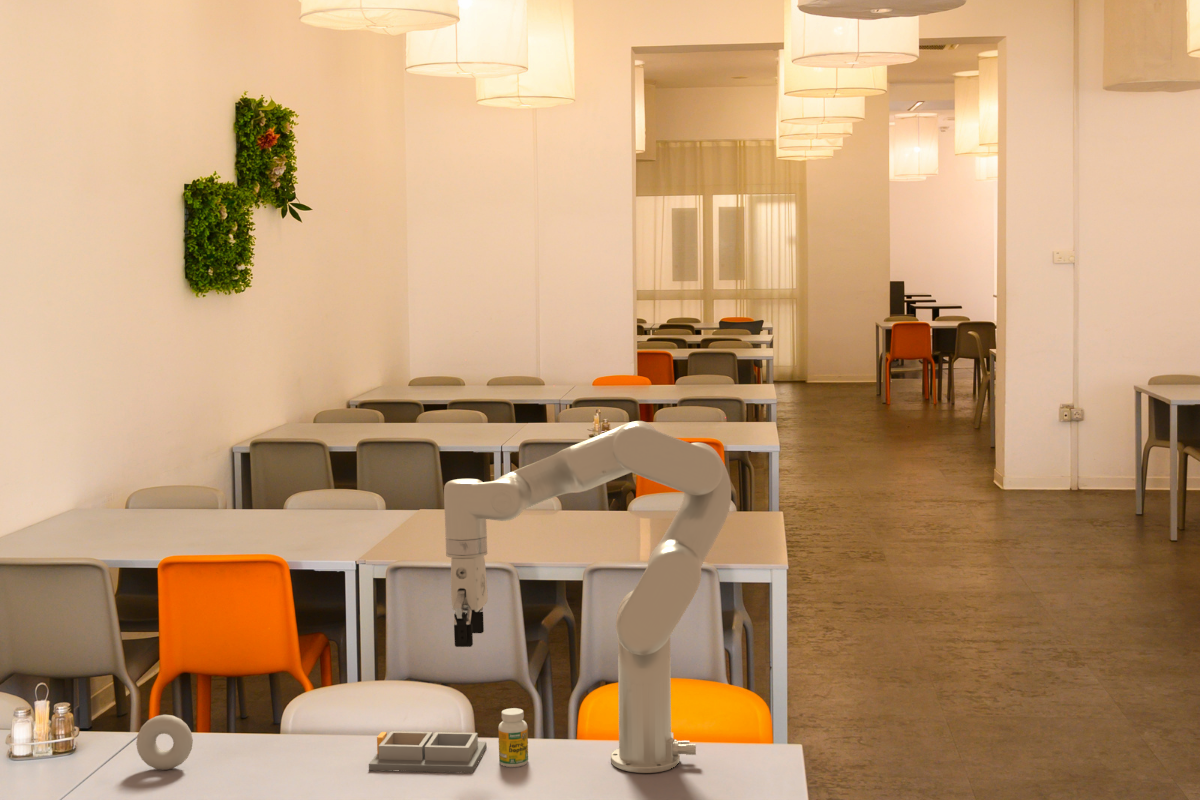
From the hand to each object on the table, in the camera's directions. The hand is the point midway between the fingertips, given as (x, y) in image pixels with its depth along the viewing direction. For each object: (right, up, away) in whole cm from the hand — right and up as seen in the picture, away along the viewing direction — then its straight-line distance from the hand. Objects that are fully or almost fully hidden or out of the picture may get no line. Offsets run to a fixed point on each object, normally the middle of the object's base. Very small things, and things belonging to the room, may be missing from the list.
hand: (469, 639), depth 216 cm
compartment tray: (-8, -23, +2) cm, 24 cm away
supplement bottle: (+8, -23, 0) cm, 24 cm away
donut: (-55, -24, -1) cm, 60 cm away
